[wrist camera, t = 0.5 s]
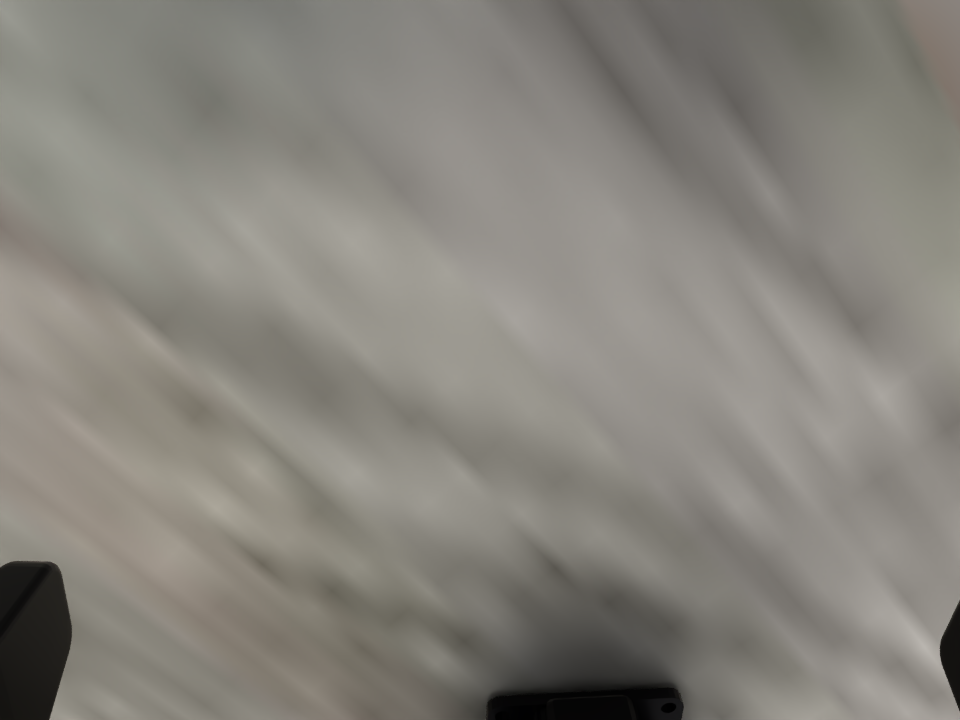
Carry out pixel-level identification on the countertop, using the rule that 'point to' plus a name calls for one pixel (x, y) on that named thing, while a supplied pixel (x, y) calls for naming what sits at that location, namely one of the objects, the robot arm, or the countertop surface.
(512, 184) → the countertop surface
